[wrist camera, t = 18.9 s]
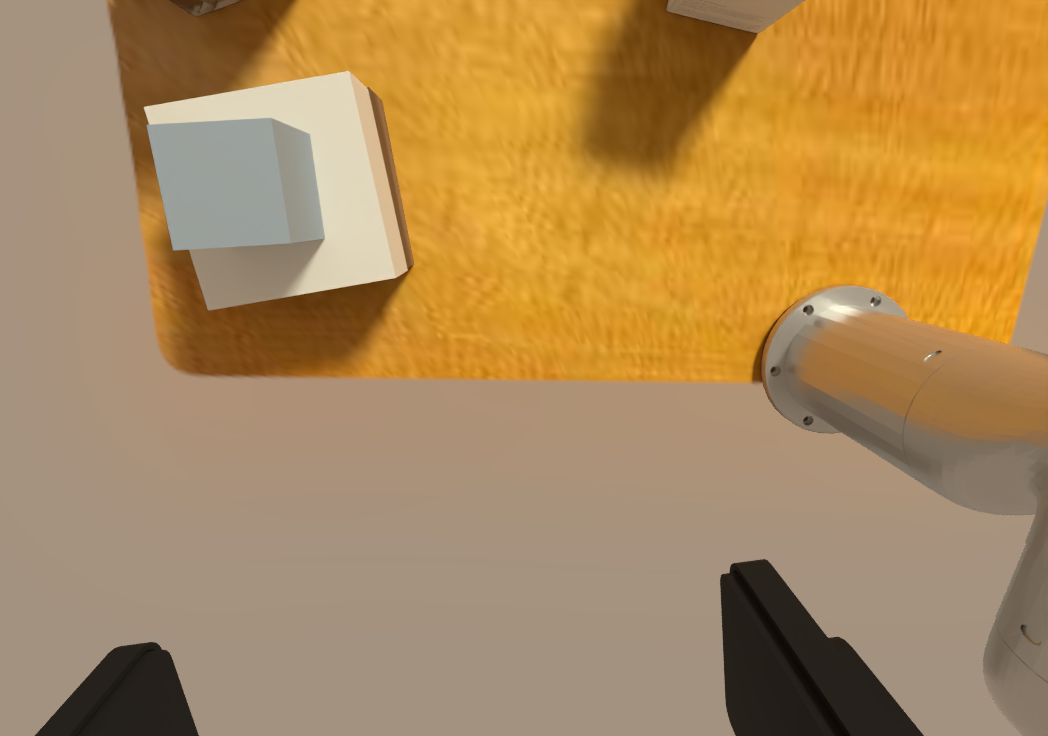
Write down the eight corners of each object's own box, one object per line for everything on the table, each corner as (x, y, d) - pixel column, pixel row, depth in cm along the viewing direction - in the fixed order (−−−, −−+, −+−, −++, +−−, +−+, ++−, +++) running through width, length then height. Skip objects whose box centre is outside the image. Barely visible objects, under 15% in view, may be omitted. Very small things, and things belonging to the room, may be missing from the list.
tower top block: (368, 89, 38) (348, 71, 33) (407, 270, 41) (395, 278, 36) (188, 120, 38) (143, 107, 33) (242, 299, 41) (208, 310, 36)
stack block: (309, 133, 34) (271, 117, 28) (325, 238, 36) (291, 243, 30) (206, 139, 34) (146, 124, 28) (226, 244, 35) (173, 250, 30)
